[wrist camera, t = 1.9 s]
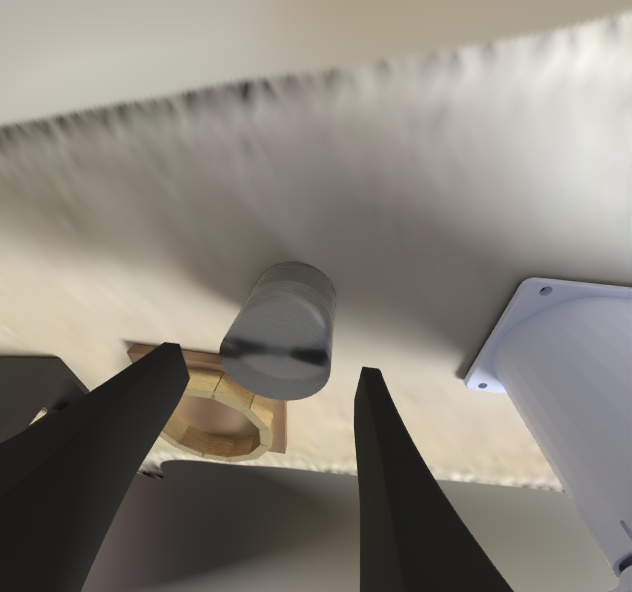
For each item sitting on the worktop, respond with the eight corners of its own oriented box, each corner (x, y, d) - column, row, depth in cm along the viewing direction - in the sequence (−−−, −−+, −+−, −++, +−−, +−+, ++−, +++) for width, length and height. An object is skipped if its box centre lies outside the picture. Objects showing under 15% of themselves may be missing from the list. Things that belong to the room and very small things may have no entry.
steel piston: (340, 266, 13) (336, 330, 9) (331, 333, 16) (325, 406, 12) (253, 257, 14) (210, 314, 9) (258, 324, 16) (227, 393, 12)
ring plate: (286, 363, 18) (278, 393, 16) (286, 444, 24) (280, 473, 22) (135, 343, 18) (108, 370, 16) (172, 427, 24) (157, 454, 22)
